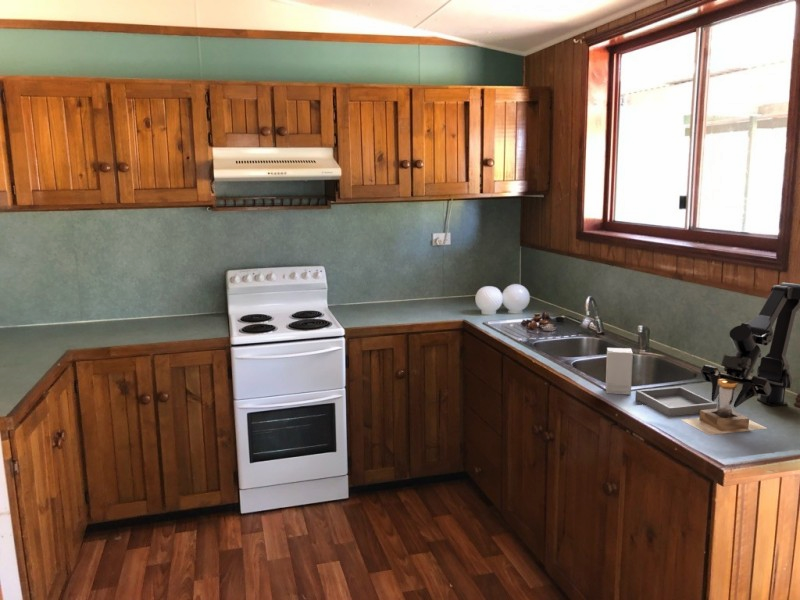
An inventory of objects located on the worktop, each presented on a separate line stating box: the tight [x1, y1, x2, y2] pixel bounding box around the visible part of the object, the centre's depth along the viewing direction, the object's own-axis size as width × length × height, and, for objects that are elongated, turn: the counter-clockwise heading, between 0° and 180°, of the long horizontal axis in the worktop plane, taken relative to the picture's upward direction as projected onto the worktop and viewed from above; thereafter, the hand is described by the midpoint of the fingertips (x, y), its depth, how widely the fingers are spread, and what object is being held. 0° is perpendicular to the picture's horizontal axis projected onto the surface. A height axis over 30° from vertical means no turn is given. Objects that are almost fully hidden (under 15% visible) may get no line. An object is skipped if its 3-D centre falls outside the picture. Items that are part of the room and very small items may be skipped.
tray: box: [634, 386, 718, 417], centre depth 213 cm, size 17×17×4 cm
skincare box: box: [605, 347, 634, 395], centre depth 227 cm, size 8×6×15 cm
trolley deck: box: [681, 408, 768, 436], centre depth 197 cm, size 20×12×4 cm, turn 105°
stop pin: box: [716, 379, 738, 418], centre depth 196 cm, size 5×5×13 cm
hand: (723, 403), depth 195 cm, fingers open, 6 cm apart
